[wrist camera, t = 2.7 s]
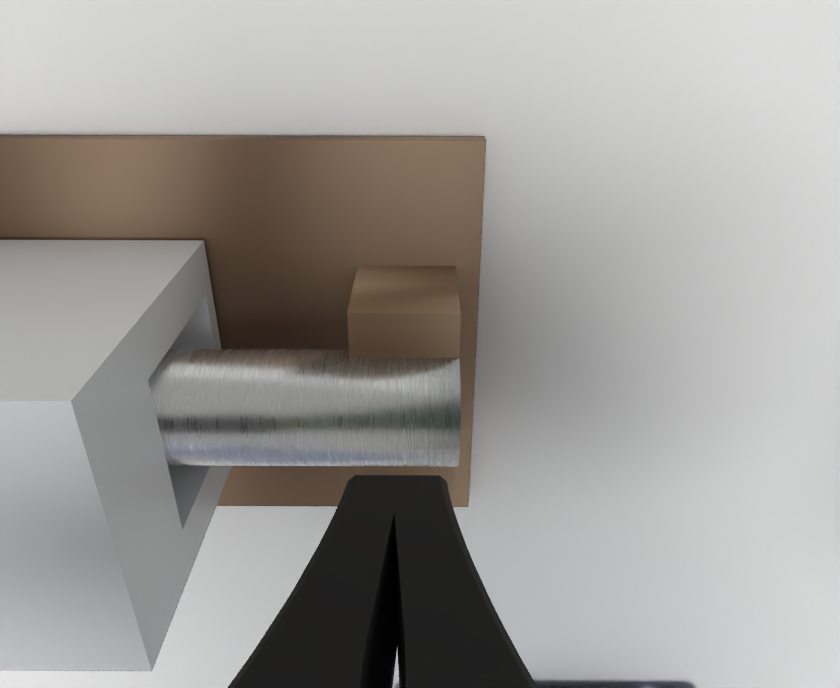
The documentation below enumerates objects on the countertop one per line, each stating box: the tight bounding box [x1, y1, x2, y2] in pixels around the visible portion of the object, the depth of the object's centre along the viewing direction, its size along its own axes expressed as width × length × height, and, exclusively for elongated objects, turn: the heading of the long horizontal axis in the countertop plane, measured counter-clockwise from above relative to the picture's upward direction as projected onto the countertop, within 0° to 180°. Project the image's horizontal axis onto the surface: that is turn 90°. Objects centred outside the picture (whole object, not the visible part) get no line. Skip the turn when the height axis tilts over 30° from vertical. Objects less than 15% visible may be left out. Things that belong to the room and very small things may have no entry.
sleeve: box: [0, 240, 232, 671], centre depth 12 cm, size 5×5×6 cm
